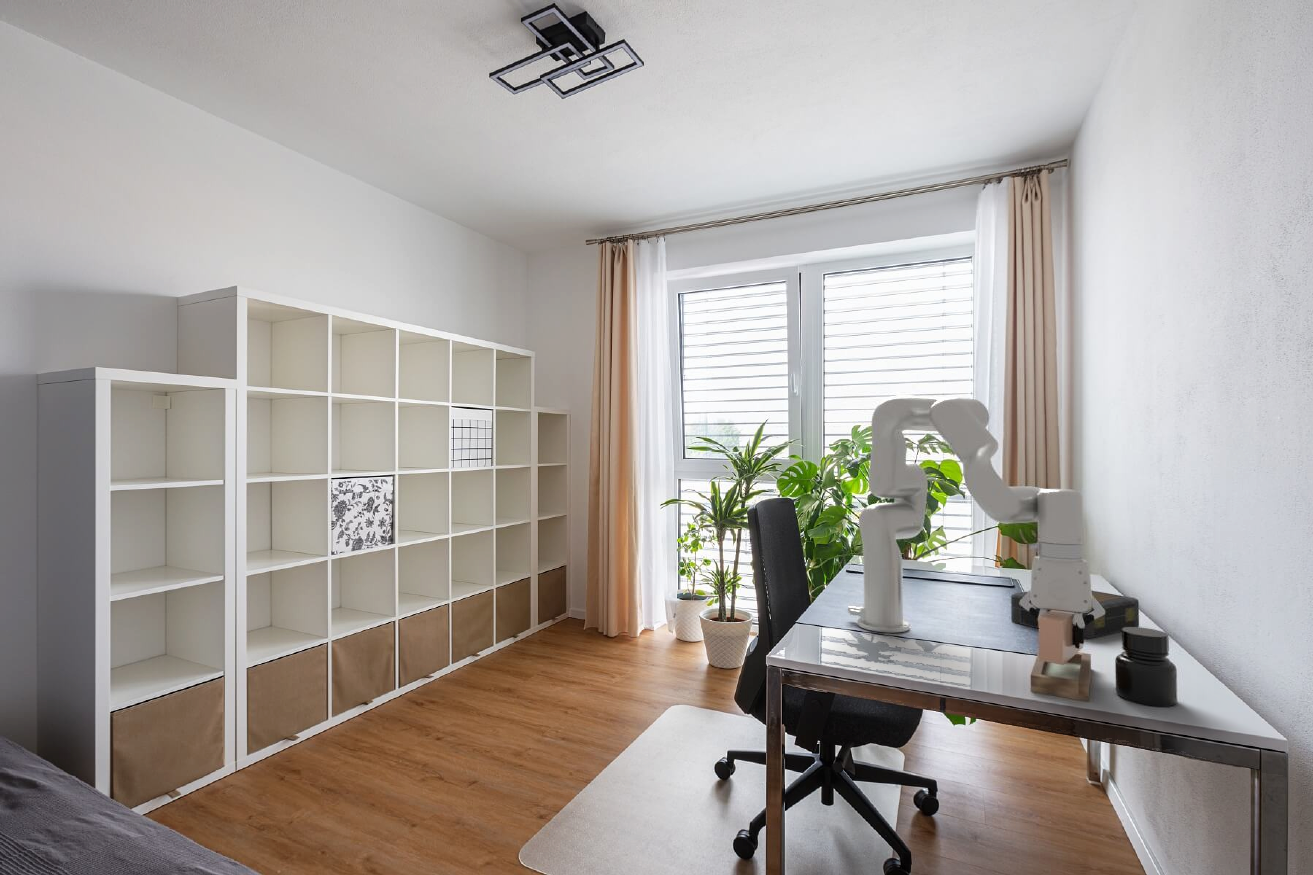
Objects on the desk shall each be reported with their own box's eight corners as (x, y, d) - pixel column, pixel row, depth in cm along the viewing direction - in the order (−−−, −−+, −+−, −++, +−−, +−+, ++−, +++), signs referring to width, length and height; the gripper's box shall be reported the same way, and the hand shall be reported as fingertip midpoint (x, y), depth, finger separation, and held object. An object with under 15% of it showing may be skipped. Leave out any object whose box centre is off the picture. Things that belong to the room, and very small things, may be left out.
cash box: (1061, 611, 185) (1061, 584, 185) (1142, 628, 167) (1141, 598, 167) (1006, 622, 173) (1006, 593, 173) (1086, 641, 155) (1086, 608, 155)
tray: (1030, 691, 121) (1030, 674, 121) (1040, 660, 139) (1040, 646, 139) (1088, 701, 116) (1088, 684, 116) (1090, 668, 134) (1090, 654, 134)
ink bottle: (1192, 706, 114) (1191, 637, 114) (1151, 710, 112) (1150, 640, 112) (1140, 687, 123) (1139, 623, 124) (1102, 690, 121) (1100, 626, 122)
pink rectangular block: (1038, 660, 123) (1038, 617, 124) (1060, 643, 135) (1060, 604, 135) (1063, 665, 121) (1062, 621, 121) (1083, 647, 132) (1082, 607, 132)
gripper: (1009, 550, 130) (1010, 642, 129) (1112, 557, 120) (1114, 657, 120) (1013, 546, 136) (1014, 633, 136) (1112, 552, 126) (1114, 647, 126)
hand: (1061, 643), depth 128 cm, fingers closed on pink rectangular block, 4 cm apart
